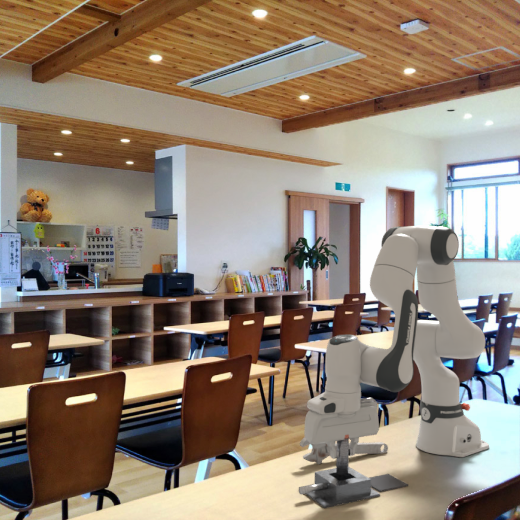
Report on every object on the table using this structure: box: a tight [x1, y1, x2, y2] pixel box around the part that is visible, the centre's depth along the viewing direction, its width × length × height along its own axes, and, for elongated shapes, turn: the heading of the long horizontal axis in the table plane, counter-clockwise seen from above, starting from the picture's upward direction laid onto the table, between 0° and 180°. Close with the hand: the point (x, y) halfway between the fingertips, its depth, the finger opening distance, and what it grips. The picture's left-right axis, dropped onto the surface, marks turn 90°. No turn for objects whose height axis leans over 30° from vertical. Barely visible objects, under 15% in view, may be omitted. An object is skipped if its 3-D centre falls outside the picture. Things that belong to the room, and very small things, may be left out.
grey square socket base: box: [298, 466, 381, 509], centre depth 143 cm, size 19×12×4 cm, turn 116°
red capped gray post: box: [335, 435, 350, 475], centre depth 144 cm, size 4×4×10 cm
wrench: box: [299, 436, 389, 465], centre depth 168 cm, size 8×2×30 cm
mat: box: [368, 473, 409, 493], centre depth 150 cm, size 9×8×1 cm
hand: (342, 456), depth 144 cm, fingers closed on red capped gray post, 3 cm apart
